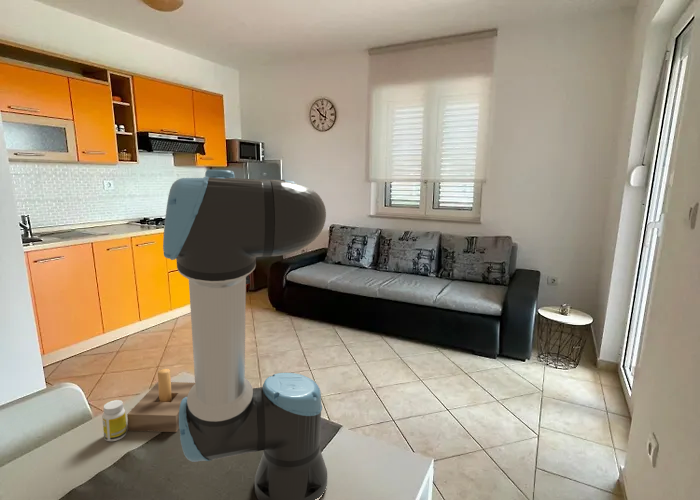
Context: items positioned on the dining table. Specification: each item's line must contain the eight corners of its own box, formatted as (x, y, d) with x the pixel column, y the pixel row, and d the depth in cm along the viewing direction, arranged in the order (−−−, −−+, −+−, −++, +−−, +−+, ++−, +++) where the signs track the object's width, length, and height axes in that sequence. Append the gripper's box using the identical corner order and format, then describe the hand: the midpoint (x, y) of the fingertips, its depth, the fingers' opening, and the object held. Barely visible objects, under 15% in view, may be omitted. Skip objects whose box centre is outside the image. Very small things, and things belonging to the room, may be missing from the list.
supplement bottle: (131, 430, 96) (129, 399, 95) (118, 443, 92) (115, 410, 90) (113, 428, 97) (110, 398, 95) (99, 441, 92) (96, 409, 91)
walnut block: (176, 431, 96) (175, 415, 96) (128, 430, 96) (127, 414, 95) (200, 397, 112) (199, 382, 111) (158, 395, 112) (158, 381, 111)
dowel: (169, 416, 103) (167, 374, 101) (157, 415, 103) (155, 374, 101) (173, 409, 106) (172, 369, 104) (162, 409, 106) (161, 368, 104)
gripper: (263, 231, 100) (263, 309, 104) (204, 223, 114) (206, 292, 117) (241, 234, 94) (241, 316, 98) (181, 224, 108) (184, 297, 111)
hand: (222, 303), depth 107 cm, fingers open, 13 cm apart
